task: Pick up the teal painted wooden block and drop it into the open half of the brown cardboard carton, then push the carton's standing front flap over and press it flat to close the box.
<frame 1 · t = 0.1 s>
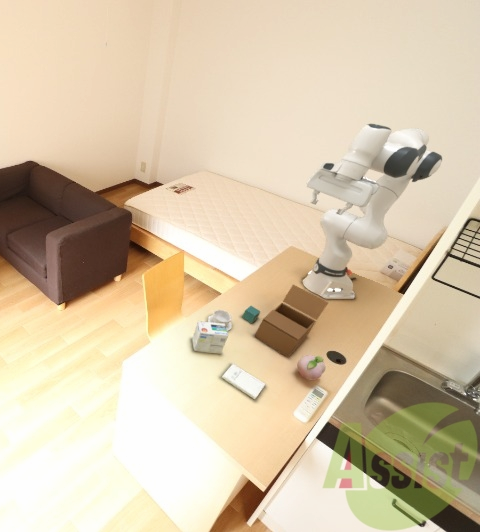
hand: (325, 208, 128), 52 cm above the worktop, tool tilted 20°, fingers open, 8 cm apart
decorative fruit: (304, 375, 132), on the worktop
flap: (304, 301, 144), point 14 cm above the worktop, hinge at 112.0°
carton: (280, 336, 147), on the worktop
light bulb box: (205, 346, 141), on the worktop
teacup: (219, 323, 152), on the worktop
block: (249, 318, 156), on the worktop
hard drive: (242, 382, 129), on the worktop
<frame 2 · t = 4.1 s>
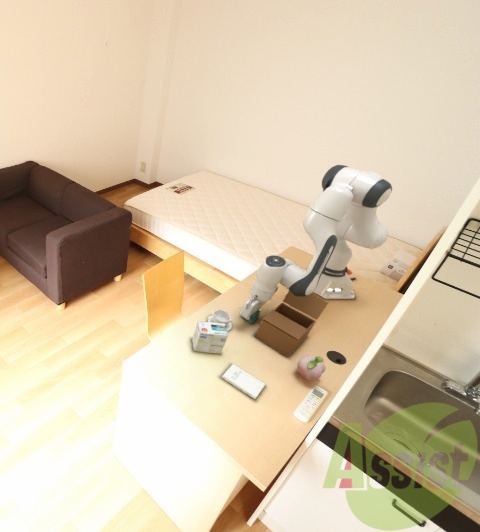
hand: (250, 315, 155), 2 cm above the worktop, tool pointing down, fingers closed on block, 4 cm apart
block: (249, 318, 156), on the worktop, touching gripper
everything else where it was.
when the fingers open (8 cm above the worktop, at t = 11.7 s): block drops 6 cm, resting on carton.
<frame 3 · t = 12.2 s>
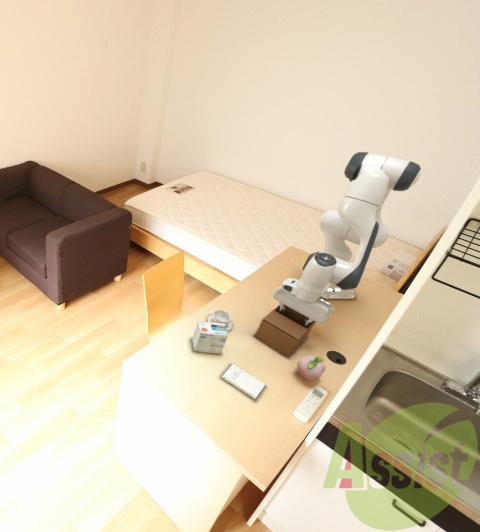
hand: (292, 317, 144), 9 cm above the worktop, tool pointing down, fingers open, 8 cm apart
block: (285, 331, 149), resting on carton
everything else where it was.
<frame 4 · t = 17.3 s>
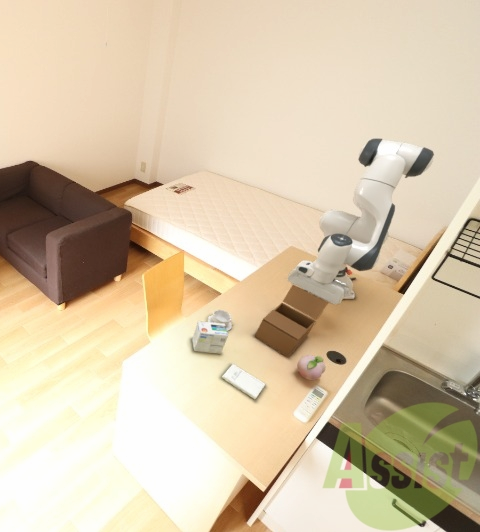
hand: (307, 299, 146), 14 cm above the worktop, tool pointing down, fingers closed
flap: (304, 301, 144), point 14 cm above the worktop, hinge at 110.3°, touching gripper
everything else where it was.
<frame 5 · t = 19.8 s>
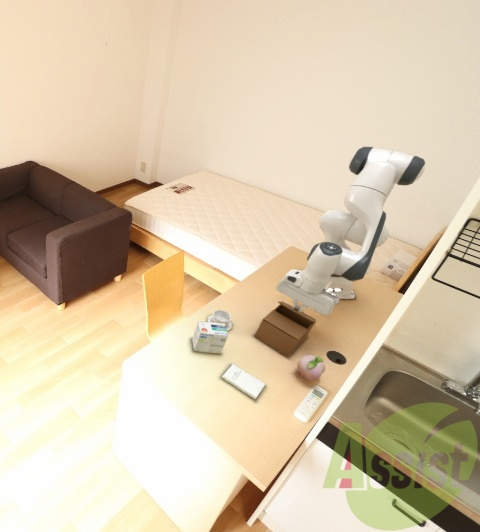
hand: (296, 309, 141), 14 cm above the worktop, tool pointing down, fingers closed
flap: (297, 310, 143), point 12 cm above the worktop, hinge at 27.4°
everything else where it was.
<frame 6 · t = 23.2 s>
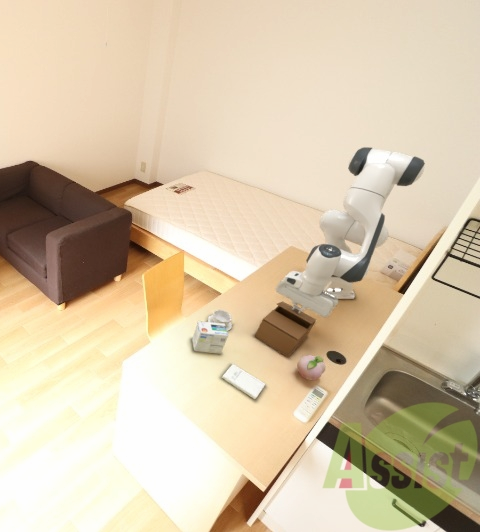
hand: (296, 311, 142), 13 cm above the worktop, tool pointing down, fingers closed, pressing on flap
flap: (296, 311, 143), point 12 cm above the worktop, hinge at 20.9°, touching gripper
everything else where it was.
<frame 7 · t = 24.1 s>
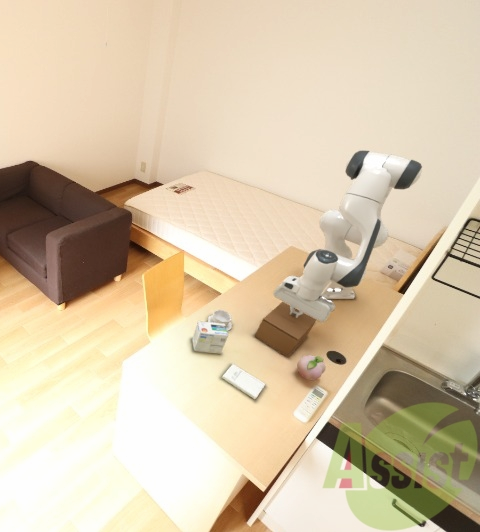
hand: (293, 315, 143), 10 cm above the worktop, tool pointing down, fingers closed, pressing on flap
flap: (294, 315, 144), point 10 cm above the worktop, hinge at -1.7°, touching gripper
everything else where it was.
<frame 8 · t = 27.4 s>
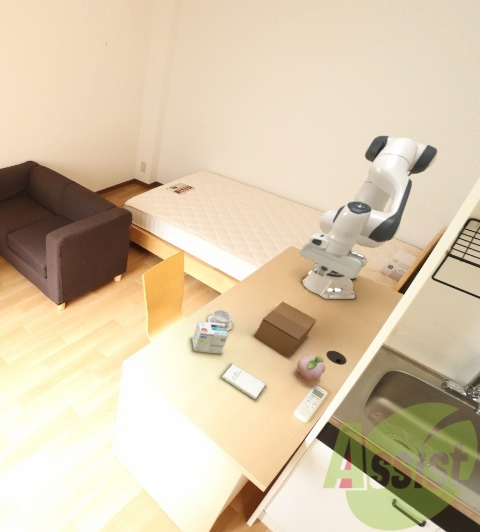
hand: (320, 274, 138), 27 cm above the worktop, tool pointing down, fingers closed
flap: (294, 315, 144), point 10 cm above the worktop, hinge at -1.0°
everything else where it was.
at the end: flap at -1° (first picture: +112°); block 3.8 cm from the carton (horizontally); block point 0.5 cm above the worktop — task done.
